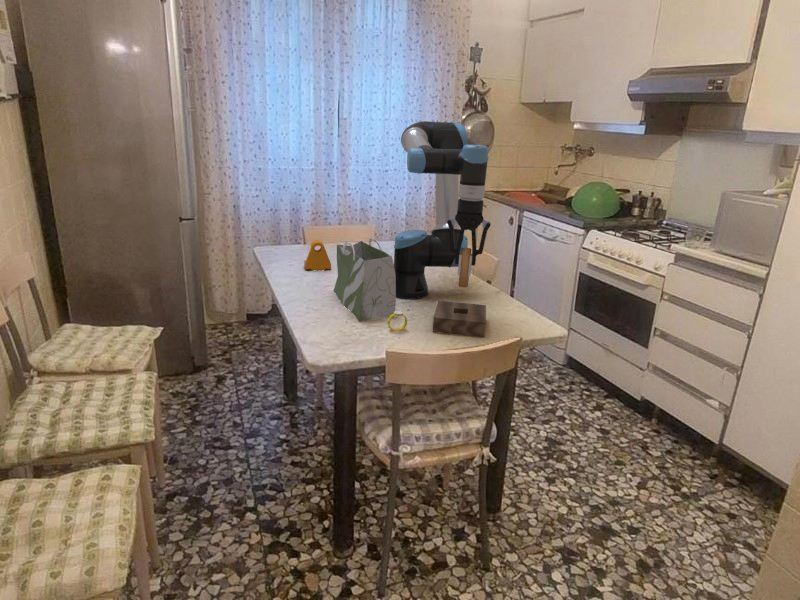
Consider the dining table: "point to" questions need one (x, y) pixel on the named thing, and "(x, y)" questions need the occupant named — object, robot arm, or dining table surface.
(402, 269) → the robot arm
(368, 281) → the grocery bag
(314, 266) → the bracket
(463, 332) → the socket block
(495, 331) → the dining table surface
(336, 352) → the dining table surface
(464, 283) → the peg
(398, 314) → the yellow ring
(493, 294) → the dining table surface
